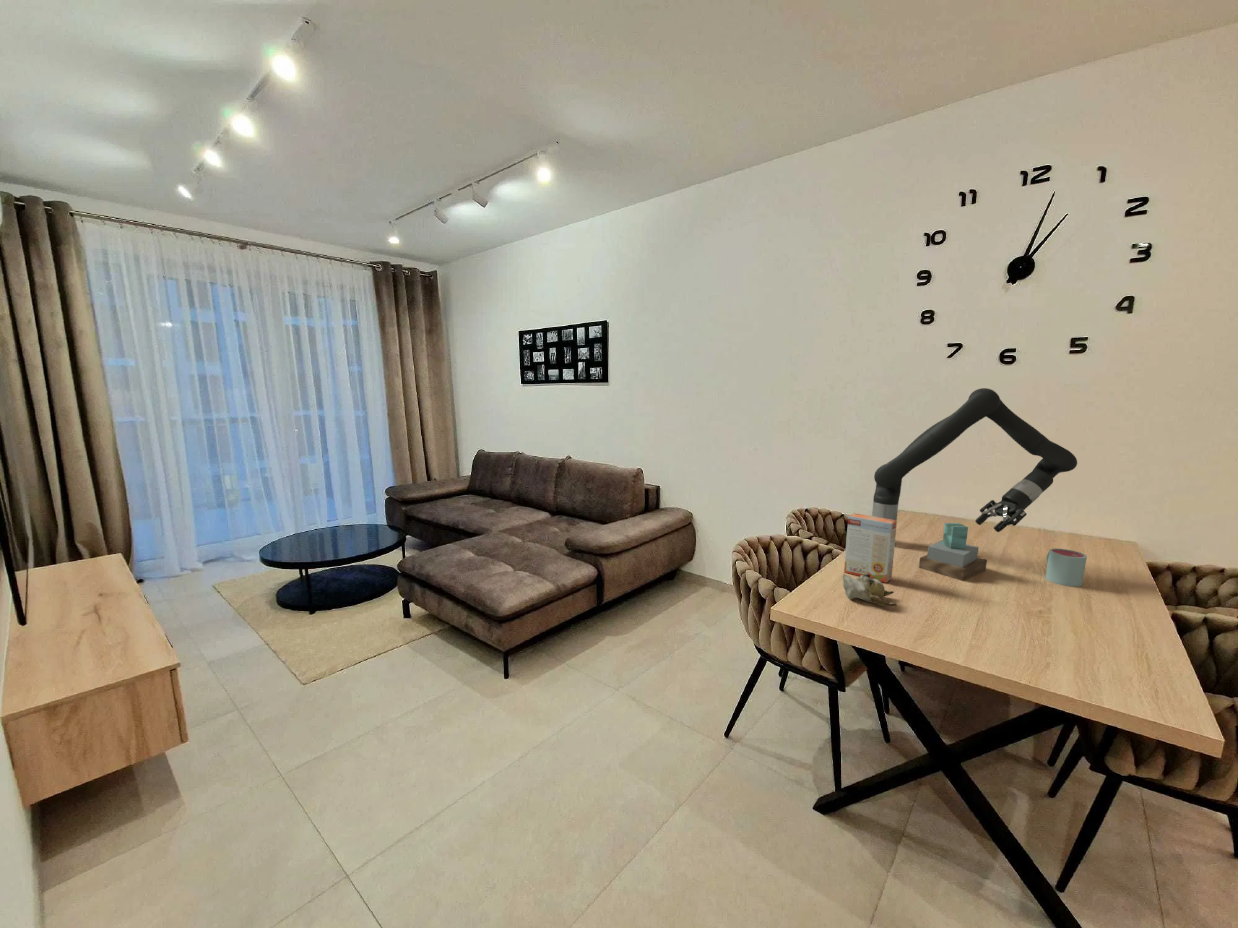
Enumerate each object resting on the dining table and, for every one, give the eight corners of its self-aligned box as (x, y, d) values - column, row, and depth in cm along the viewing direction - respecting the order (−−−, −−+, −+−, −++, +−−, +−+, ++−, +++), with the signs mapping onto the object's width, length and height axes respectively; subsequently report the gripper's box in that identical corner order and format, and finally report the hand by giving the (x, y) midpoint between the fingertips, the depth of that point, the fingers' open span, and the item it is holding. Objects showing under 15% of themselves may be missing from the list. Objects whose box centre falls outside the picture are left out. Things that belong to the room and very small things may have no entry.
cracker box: (892, 578, 166) (898, 519, 162) (886, 583, 162) (892, 523, 158) (849, 567, 176) (854, 511, 172) (843, 572, 172) (848, 515, 168)
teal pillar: (942, 543, 177) (944, 522, 175) (956, 544, 176) (959, 523, 175) (950, 548, 172) (953, 526, 170) (965, 548, 171) (968, 527, 170)
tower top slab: (927, 558, 175) (928, 546, 174) (942, 550, 183) (943, 539, 182) (962, 567, 166) (964, 555, 165) (977, 558, 174) (978, 546, 174)
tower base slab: (918, 569, 176) (920, 557, 176) (942, 559, 186) (944, 548, 185) (962, 582, 165) (963, 569, 164) (985, 571, 174) (987, 559, 174)
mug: (1089, 587, 159) (1094, 558, 158) (1056, 585, 161) (1061, 556, 160) (1060, 572, 173) (1065, 545, 171) (1030, 570, 175) (1034, 543, 173)
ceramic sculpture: (843, 563, 156) (896, 573, 150) (839, 588, 157) (891, 599, 152) (843, 575, 146) (900, 587, 140) (839, 602, 148) (895, 614, 142)
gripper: (999, 483, 178) (965, 514, 180) (1033, 492, 164) (995, 525, 165) (1011, 497, 179) (977, 528, 181) (1046, 507, 165) (1008, 540, 166)
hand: (986, 526), depth 173 cm, fingers open, 8 cm apart
